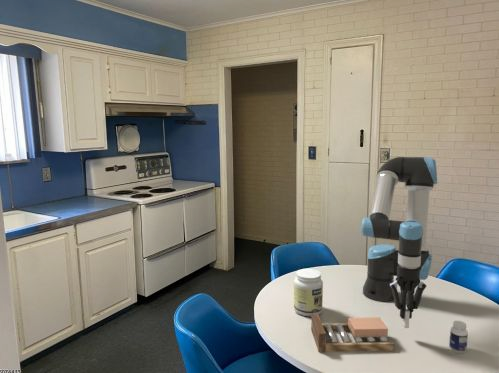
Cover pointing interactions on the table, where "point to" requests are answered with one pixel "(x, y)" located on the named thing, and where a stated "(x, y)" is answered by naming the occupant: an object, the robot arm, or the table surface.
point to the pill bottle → (458, 337)
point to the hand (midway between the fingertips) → (405, 326)
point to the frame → (322, 346)
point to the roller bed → (345, 337)
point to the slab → (367, 327)
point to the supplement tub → (308, 292)
